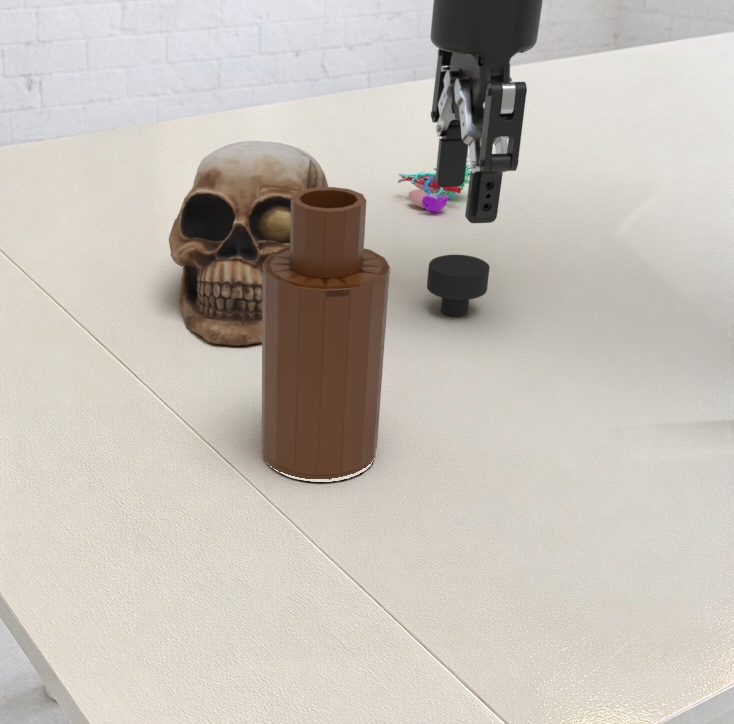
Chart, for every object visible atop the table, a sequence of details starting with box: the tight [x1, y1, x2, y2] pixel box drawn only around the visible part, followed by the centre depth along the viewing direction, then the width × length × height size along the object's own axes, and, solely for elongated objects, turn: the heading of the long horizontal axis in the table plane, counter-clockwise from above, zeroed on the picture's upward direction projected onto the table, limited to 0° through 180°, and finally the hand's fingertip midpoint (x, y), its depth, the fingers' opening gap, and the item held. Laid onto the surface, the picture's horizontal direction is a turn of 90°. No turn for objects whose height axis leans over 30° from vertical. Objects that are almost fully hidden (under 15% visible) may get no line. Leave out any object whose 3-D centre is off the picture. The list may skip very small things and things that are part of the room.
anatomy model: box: [397, 152, 471, 214], centre depth 114 cm, size 5×8×7 cm
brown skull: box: [168, 140, 329, 347], centre depth 93 cm, size 16×17×13 cm
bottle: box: [261, 186, 391, 480], centre depth 69 cm, size 7×7×17 cm
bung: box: [426, 254, 490, 318], centre depth 91 cm, size 5×5×4 cm
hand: (463, 202), depth 87 cm, fingers open, 8 cm apart
